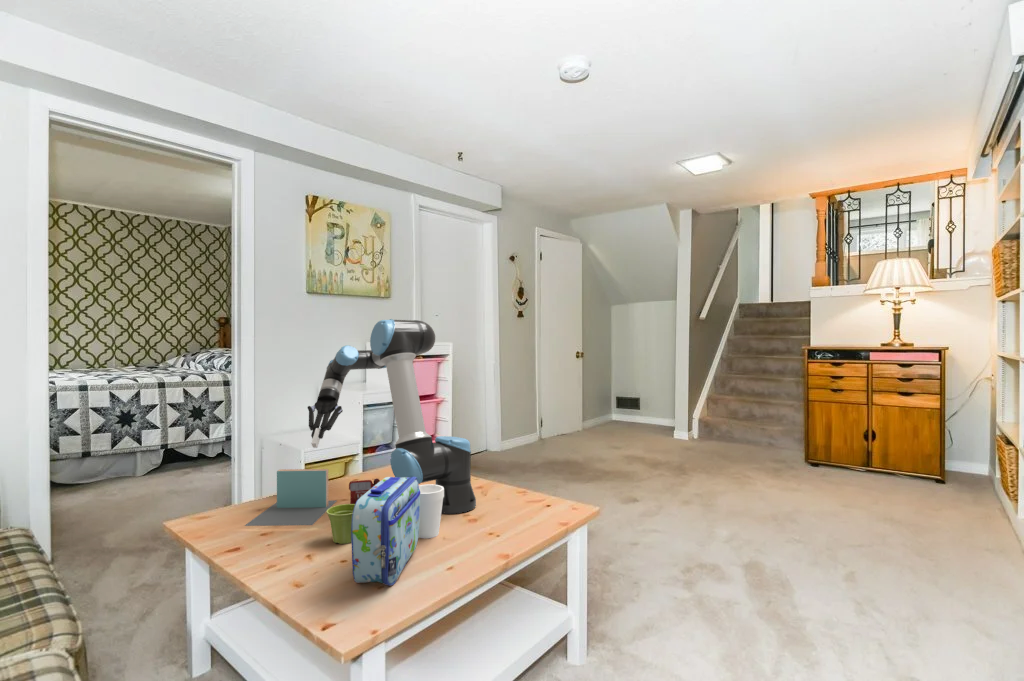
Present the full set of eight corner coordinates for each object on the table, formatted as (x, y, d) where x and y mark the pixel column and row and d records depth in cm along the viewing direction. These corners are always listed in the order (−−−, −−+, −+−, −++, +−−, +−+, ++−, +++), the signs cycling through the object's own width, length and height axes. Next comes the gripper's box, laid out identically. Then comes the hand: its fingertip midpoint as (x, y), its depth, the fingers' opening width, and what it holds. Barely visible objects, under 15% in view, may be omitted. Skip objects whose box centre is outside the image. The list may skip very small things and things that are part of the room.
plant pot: (329, 549, 140) (329, 516, 140) (324, 537, 148) (324, 506, 148) (365, 543, 144) (365, 511, 144) (358, 531, 152) (358, 502, 152)
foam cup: (450, 531, 153) (450, 486, 153) (432, 542, 144) (432, 495, 144) (423, 526, 157) (423, 482, 157) (404, 537, 148) (403, 491, 148)
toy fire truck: (389, 512, 169) (389, 480, 169) (349, 517, 165) (349, 484, 165) (387, 506, 176) (387, 475, 176) (348, 510, 172) (348, 478, 172)
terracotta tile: (279, 505, 175) (279, 469, 175) (328, 505, 175) (328, 469, 175) (276, 507, 173) (276, 471, 173) (325, 507, 173) (325, 470, 173)
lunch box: (392, 594, 115) (392, 498, 115) (345, 592, 116) (345, 497, 116) (424, 547, 141) (424, 469, 141) (385, 546, 142) (385, 468, 142)
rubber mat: (278, 502, 180) (278, 500, 180) (337, 502, 180) (337, 500, 180) (244, 527, 156) (244, 525, 156) (312, 527, 156) (312, 525, 156)
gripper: (348, 399, 206) (335, 451, 189) (315, 399, 206) (298, 451, 189) (344, 387, 201) (330, 439, 184) (310, 387, 200) (292, 439, 184)
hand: (314, 445), depth 187 cm, fingers closed
